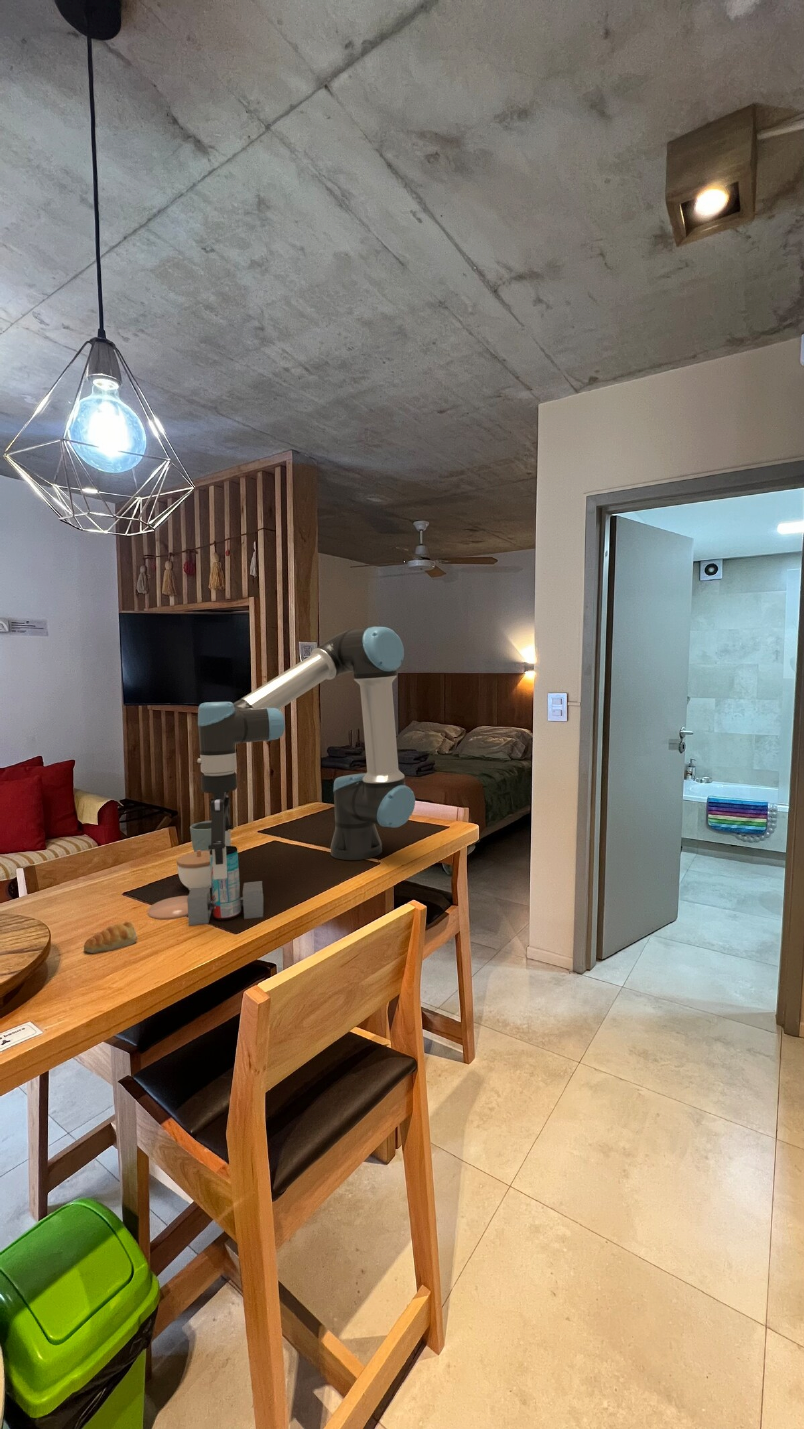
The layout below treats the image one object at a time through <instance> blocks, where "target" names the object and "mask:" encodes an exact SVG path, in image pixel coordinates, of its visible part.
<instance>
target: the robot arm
mask: <svg viewBox="0 0 804 1429" xmlns="http://www.w3.org/2000/svg"><path fill="white" fill-rule="evenodd" d="M401 639H402V638H400V635H398V634H397V633H396V632H395V631H394V630H393V629H391V628H389V627H387V626H371V627H365V628H364V627H363V628H358V629H357V628H356V629H347V630H345V631H342V632H341V633H337V634H336V635H335V636H332V637H331V638H329V639H328V640H327V641H324V643H321V644H320V645H318V646H317V647H315V648H314V649H312V651H311V652H310V655H309V656H308V657H307V658H305V659H303V660H302V661H300V662H298V663H297V664H295V665H293V666H292V667H289V668H288V669H287V670H285V671H284V672H282V673H281V674H279V675H278V676H276V677H274V678H272V679H270V680H269V681H267V682H266V683H265V684H263V685H261V686H259V687H258V688H256V689H255V690H253V691H251V692H250V693H248V694H247V695H244V696H243V697H241V698H240V699H239V700H237V701H235V702H231V701H211V702H203V703H200V704H199V705H198V708H197V709H198V712H197V726H198V742H199V743H198V744H199V757H200V758H197V759H196V760H197V761H196V762H197V763H198V764H200V772H201V773H203V774H202V775H200V786H201V787H200V789H201V792H202V793H205V794H212V798H210V799H211V800H209V808H210V819H211V820H210V821H211V845H208V849H209V850H210V849H212V857H213V879H224V878H227V860H226V847H225V846H232V837H231V836H232V834H231V830H234V824H232V821H231V813H230V811H231V810H230V809H231V806H230V805H231V798H230V797H229V793H230V792H233V791H235V790H237V789H238V775H237V774H238V773H236V772H235V771H236V770H237V769H238V767H237V751H236V746H237V745H238V744H243V743H254V742H255V743H257V742H266V741H267V742H270V741H274V740H278V739H280V738H282V736H283V735H284V733H285V729H286V724H285V723H286V721H285V720H286V719H285V717H284V715H283V712H282V711H281V709H283V708H284V707H285V706H287V705H289V704H290V703H292V702H293V701H295V700H296V699H297V698H299V697H301V696H302V695H304V694H305V693H307V692H309V691H310V690H311V689H313V688H315V687H316V686H317V685H319V684H320V683H322V682H324V681H325V680H334V679H335V678H336V677H338V676H340V675H343V674H347V673H348V674H349V673H353V680H354V681H355V682H356V683H357V684H358V685H359V688H360V701H361V702H360V703H361V712H362V713H361V714H362V723H363V725H362V726H363V738H364V747H365V760H366V772H364V773H363V772H361V773H356V774H349V775H343V776H339V777H337V778H335V779H334V782H333V790H332V791H333V803H334V822H335V823H334V824H335V825H334V826H335V829H334V831H333V836H332V838H331V839H332V840H331V844H330V850H329V851H330V855H331V857H332V858H335V859H338V860H343V861H345V860H346V861H358V860H366V859H368V860H369V859H371V858H375V857H377V856H379V855H381V854H382V852H383V844H382V840H381V838H380V835H379V832H378V829H377V827H376V825H379V826H381V827H385V828H394V829H395V828H398V827H402V826H403V825H404V824H406V823H407V822H408V821H409V819H410V817H411V816H413V815H412V814H413V813H414V810H415V805H416V797H415V794H414V791H413V790H412V788H410V787H409V786H408V785H406V779H405V774H404V773H403V772H401V770H400V769H399V761H398V760H399V758H398V746H397V734H396V721H395V719H396V718H395V707H394V696H393V694H394V693H393V682H394V681H395V679H396V678H397V677H398V673H397V669H398V668H399V667H401V665H402V662H403V661H404V659H405V658H404V656H405V648H404V645H403V644H404V643H403V641H402V640H401ZM236 744H237V745H236ZM217 841H218V842H217Z"/></svg>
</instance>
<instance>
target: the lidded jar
mask: <svg viewBox="0 0 804 1429" xmlns="http://www.w3.org/2000/svg"><path fill="white" fill-rule="evenodd" d="M176 866H177V874H178V878H179V880H180V882H181V883H182V885H183V886H184V887H185V888H187V889H188V891H190V890H191V889H193V888H202V887H210V889H212V884H211V868H210V851H201V850H197V852H194V851H192V852H189V853H186V854H183V855H181V856H178V858H177V859H176Z"/></svg>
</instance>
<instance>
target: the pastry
mask: <svg viewBox="0 0 804 1429" xmlns="http://www.w3.org/2000/svg"><path fill="white" fill-rule="evenodd" d="M137 935H138V934H137V932H136V930H135V927H134V925H133V923H132V921H127V920H126V921H125V922H123V923H119V924H115V925H110V926H108V927H106V928H105V929H103V930H102V931H101V932H99V933H98V932H97V933H96V934H94V935H92V936H91V937H89V938H88V939H86V941H85V942H84V945H83V950H84V951H85V952H87V953H91V954H97V953H101V952H102V953H103V952H111V951H113V950H117V949H121V948H125V947H127V946H131V945H133V944H135V943H136V942H137V940H138V936H137Z"/></svg>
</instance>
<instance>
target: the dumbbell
mask: <svg viewBox="0 0 804 1429" xmlns="http://www.w3.org/2000/svg"><path fill="white" fill-rule="evenodd" d="M263 892H264V890H263V881H262V880H258V881H250V882H248V881H247V882H243V887H242V897H241V896H240V901H241V907H243V918H244V920H247V919H257V918H264V893H263ZM187 896H188V898H187V904H188V915H187V916H188V926H199V925H207V924H209V922H210V919H211V916H212V915H211V914H212V911H213V900H211V888H210V887H202V888H193V889H191V890H189V893H188V894H187Z"/></svg>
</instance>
